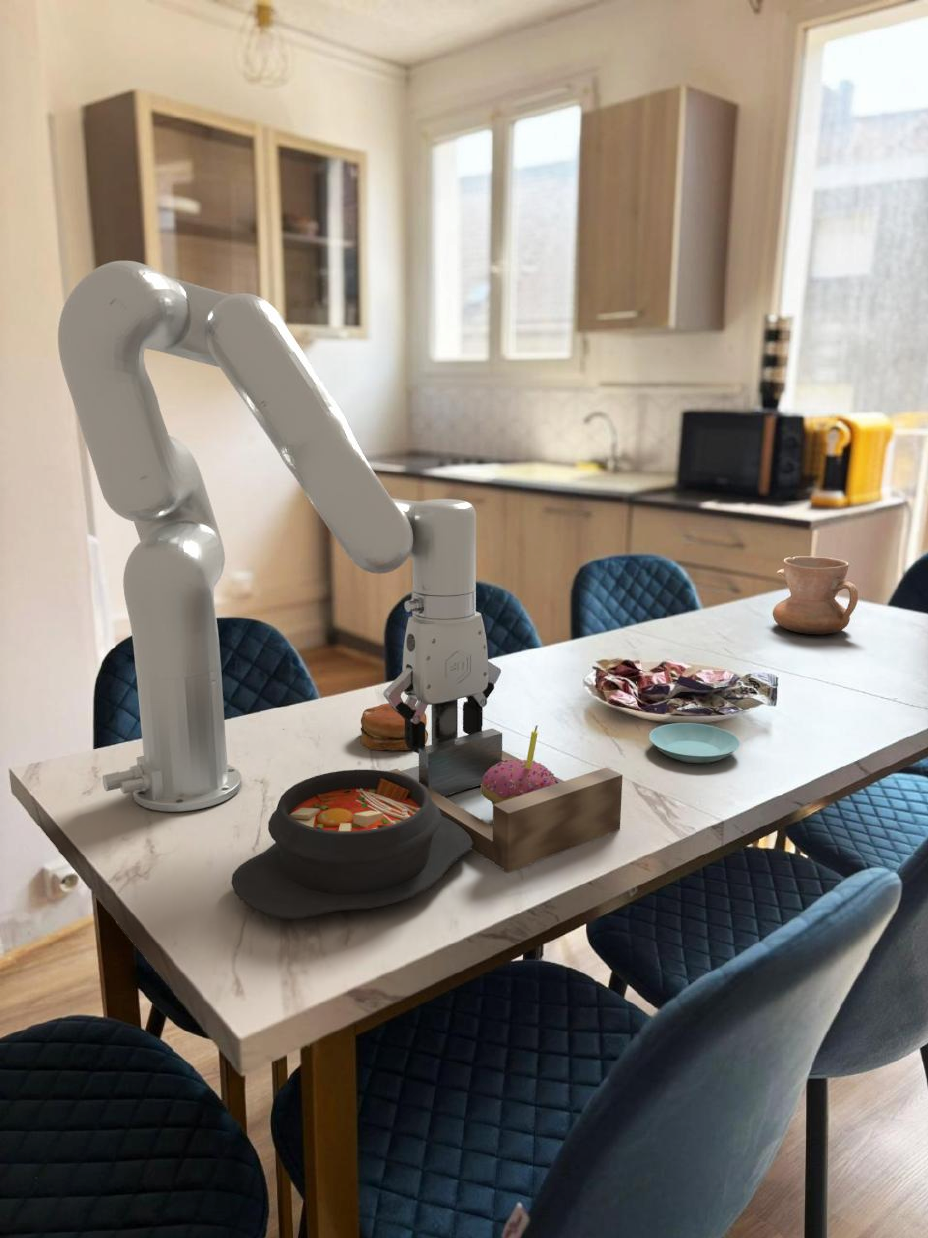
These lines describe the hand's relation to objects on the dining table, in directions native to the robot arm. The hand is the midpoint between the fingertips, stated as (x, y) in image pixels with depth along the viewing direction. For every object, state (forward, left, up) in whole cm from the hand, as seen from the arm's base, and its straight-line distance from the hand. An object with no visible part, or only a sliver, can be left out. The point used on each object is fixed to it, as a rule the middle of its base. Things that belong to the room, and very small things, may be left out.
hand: (444, 742), depth 114 cm
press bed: (0, -10, -5) cm, 12 cm away
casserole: (-20, -14, -5) cm, 25 cm away
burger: (+2, +15, -5) cm, 16 cm away
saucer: (+32, -12, -5) cm, 35 cm away
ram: (0, -1, -5) cm, 5 cm away
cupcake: (0, -14, -5) cm, 15 cm away
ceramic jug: (+101, +16, -5) cm, 102 cm away
